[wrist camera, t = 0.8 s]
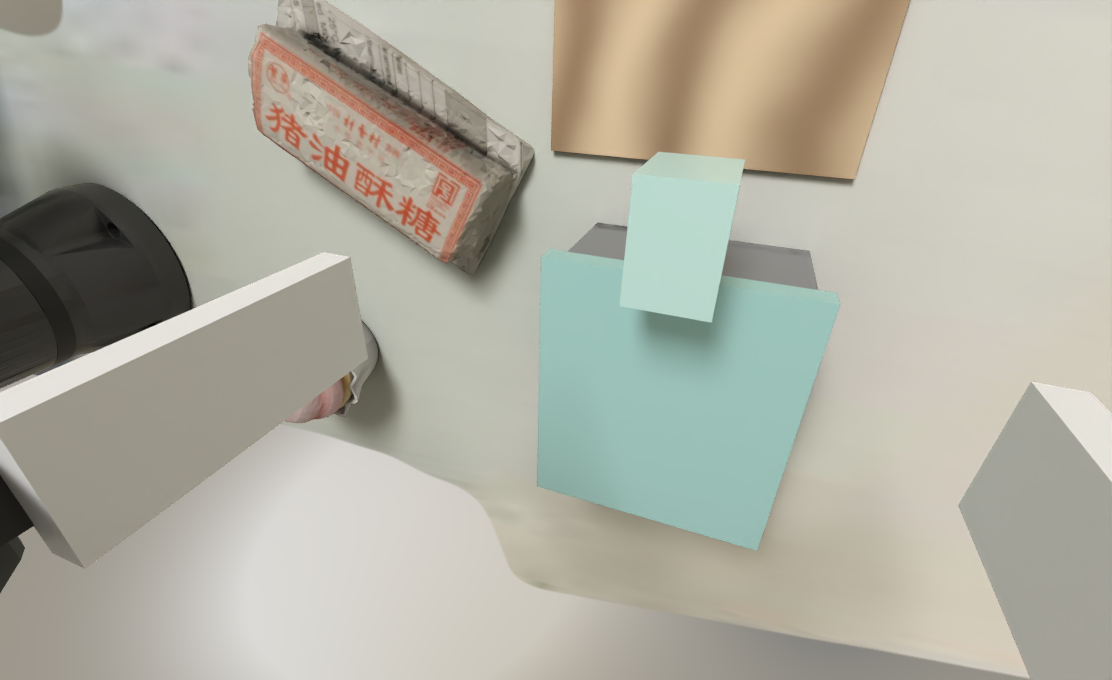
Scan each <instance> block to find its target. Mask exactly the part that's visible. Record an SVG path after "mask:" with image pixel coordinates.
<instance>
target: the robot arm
mask: <svg viewBox="0 0 1112 680" xmlns="http://www.w3.org/2000/svg"><path fill="white" fill-rule="evenodd" d="M91 352H92V353H91ZM85 353H90V354H88V355H86V356H83V357H81V358H79V359H76V360H74V361H72V362H69V363H67V364H65V365H62V366H60V367H58V368H56V369H53V370H51V371H49V372H46V373H44V374H42V375H39V376H37V377H35V378H32V379H30V380H28V381H26V382H23V383H21V384H19V385H17V386H14V387H12V388H10V389H7V390H5V391H3V392H0V593H1V591H2V589H3V588H4V586H5V584H6V583H7V581H8V580H9V578H10V576H11V575H12V573H13V571H14V570H15V568H16V567H17V565H18V563H19V562H20V560H21V558H22V555H23V552H24V549H25V547H24V546H23V544H22V542H21V540H20V539H19V537H18V535H20V534H21V533H23V532H25V531H26V530H28V529H29V528H31V527H33V526H34V527H35V528H36V530H37V531H38V533H39V534H40V536H41V537H42V538H43V540H44V542H45V543H46V545H47V546H48V547H49V549H50V550H51V552H52V553H54V554H56V555H58V556H60V557H62V558H64V559H66V560H68V561H70V562H72V563H74V564H76V565H78V566H80V567H83V568H87V567H88V566H89V565H91V564H92V563H93V562H95V561H96V560H98V559H99V558H100V557H102V556H103V555H104V554H106V553H107V552H108V551H110V550H111V549H112V548H114V547H115V546H116V545H118V544H119V543H120V542H122V541H123V540H124V539H126V538H127V537H128V536H130V535H131V534H132V533H134V532H135V531H137V530H138V529H139V528H141V527H142V526H143V525H145V524H146V523H147V522H149V521H150V520H151V519H153V518H154V517H155V516H157V515H158V514H159V513H161V512H162V511H163V510H165V509H166V508H167V507H169V506H170V505H171V504H173V503H174V502H175V501H177V500H178V499H180V498H181V497H182V496H184V495H185V494H186V493H188V492H189V491H190V490H192V489H193V488H194V487H196V486H197V485H198V484H200V483H201V482H202V481H204V480H205V479H206V478H208V477H209V476H210V475H212V474H213V473H215V472H216V471H217V470H219V469H220V468H221V467H223V466H224V465H225V464H227V463H228V462H229V461H231V460H232V459H233V458H235V457H236V456H237V455H239V454H240V453H241V452H242V451H244V450H245V449H247V448H248V447H249V446H251V445H252V444H254V443H255V442H256V441H258V440H259V439H260V438H262V437H263V436H264V435H266V434H267V433H268V432H269V431H271V430H272V429H274V428H275V427H276V426H278V425H279V424H280V423H282V422H283V421H284V420H286V419H287V418H288V417H290V416H291V415H293V414H294V413H295V412H297V411H298V410H299V409H301V408H302V407H303V406H305V405H306V404H307V403H309V402H310V401H311V400H313V399H314V398H315V397H317V396H318V395H319V394H321V393H322V392H323V391H325V390H326V389H327V388H329V387H330V386H332V385H333V384H334V383H336V382H337V381H338V380H340V379H341V378H342V377H344V376H345V375H346V374H348V373H349V372H350V371H352V370H353V369H354V368H356V367H357V366H358V365H360V364H361V363H362V362H364V361H365V360H366V359H368V355H367V350H366V344H365V338H364V333H363V327H362V321H361V315H360V310H359V304H358V298H357V293H356V287H355V281H354V276H353V270H352V264H351V258H350V257H347V256H341V255H336V254H330V253H325V252H323V253H321V254H319V255H316V256H314V257H312V258H309V259H307V260H305V261H302V262H300V263H298V264H295V265H293V266H291V267H289V268H286V269H284V270H282V271H279V272H277V273H275V274H272V275H270V276H268V277H265V278H263V279H261V280H259V281H256V282H254V283H252V284H249V285H247V286H245V287H242V288H240V289H238V290H235V291H233V292H231V293H229V294H226V295H224V296H222V297H219V298H217V299H215V300H212V301H210V302H208V303H205V304H203V305H201V306H199V307H196V308H194V309H192V310H190V297H189V291H188V286H187V283H186V279H185V276H184V274H183V271H182V269H181V266H180V264H179V262H178V260H177V258H176V256H175V254H174V252H173V251H172V249H171V247H170V246H169V244H168V243H167V241H166V240H165V238H164V237H163V235H162V234H161V233H160V231H159V230H158V229H157V228H156V226H155V225H154V224H153V223H152V222H151V221H150V219H149V218H148V217H147V216H146V215H145V214H144V213H143V212H142V211H141V210H140V209H139V208H137V207H136V206H135V205H134V204H133V203H131V202H130V201H129V200H128V199H126V198H125V197H123V196H122V195H120V194H119V193H117V192H115V191H113V190H111V189H109V188H107V187H105V186H102V185H98V184H93V183H83V184H78V185H72V186H67V187H61V188H57V189H54V190H51V191H49V192H47V193H45V194H43V195H42V196H40V197H38V198H36V199H34V200H33V201H31V202H29V203H27V204H25V205H24V206H22V207H20V208H18V209H17V210H15V211H13V212H11V213H9V214H8V215H6V216H4V217H2V218H0V388H3V387H5V386H7V385H10V384H12V383H14V382H16V381H19V380H21V379H23V378H26V377H28V376H30V375H32V374H35V373H37V372H39V371H42V370H44V369H46V368H48V367H51V366H53V365H55V364H57V363H60V362H62V361H64V360H67V359H69V358H72V357H74V356H77V355H80V354H85ZM958 506H959V508H960V510H961V513H962V515H963V518H964V520H965V522H966V525H967V527H968V530H969V532H970V534H971V537H972V539H973V542H974V544H975V546H976V549H977V551H978V554H979V556H980V558H981V561H982V563H983V566H984V568H985V570H986V573H987V575H988V578H989V580H990V582H991V585H992V587H993V590H994V592H995V594H996V597H997V599H998V602H999V604H1000V606H1001V609H1002V611H1003V614H1004V616H1005V618H1006V621H1007V623H1008V626H1009V628H1010V630H1011V633H1012V635H1013V638H1014V640H1015V642H1016V645H1017V647H1018V650H1019V652H1020V655H1021V657H1022V659H1023V662H1024V664H1025V667H1026V669H1027V671H1028V674H1029V676H1030V679H1031V680H1112V414H1111V413H1110V412H1109V411H1108V410H1107V409H1106V408H1105V407H1104V406H1103V404H1102V403H1101V402H1100V401H1099V400H1098V399H1097V398H1096V397H1095V396H1094V395H1093V394H1092V393H1091V392H1086V391H1080V390H1075V389H1069V388H1064V387H1058V386H1053V385H1047V384H1042V383H1037V382H1031V383H1030V384H1029V386H1028V388H1027V389H1026V391H1025V393H1024V395H1023V396H1022V398H1021V400H1020V401H1019V403H1018V405H1017V406H1016V408H1015V410H1014V412H1013V413H1012V415H1011V417H1010V418H1009V420H1008V422H1007V423H1006V425H1005V427H1004V429H1003V430H1002V432H1001V434H1000V435H999V437H998V439H997V440H996V442H995V444H994V445H993V447H992V449H991V451H990V452H989V454H988V456H987V457H986V459H985V461H984V462H983V464H982V466H981V468H980V469H979V471H978V473H977V474H976V476H975V478H974V479H973V481H972V483H971V484H970V486H969V488H968V490H967V491H966V493H965V495H964V496H963V498H962V500H961V501H960V503H959V505H958Z"/></svg>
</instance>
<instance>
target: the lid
mask: <svg viewBox="0 0 1112 680" xmlns="http://www.w3.org/2000/svg"><path fill="white" fill-rule="evenodd" d="M744 163H745V159H734V158H723V157H712V156H701V155H690V154H679V153H667V152H658V153H657V154H655V155H654V156H653V157H652V158H651V159H650V160H648V161H647V162H646V163H645V164H644V165H643V166H641V167H640V168H639V169H638V170H637V171H636V172H635V173H633V179H632V188H631V198H630V208H629V218H628V227H627V237H626V247H625V257H624V260H618V259H612V258H605V257H599V256H592V255H586V254H579V253H573V252H566V251H559V250H553V249H550V250H548V251H547V252H546V253H545V254H544V255H543V256H542V257H541V298H540V353H539V408H538V463H537V486H538V487H541V488H545V489H548V490H552V491H555V492H558V493H562V494H565V495H569V496H572V497H575V498H579V499H582V500H586V501H589V502H592V503H596V504H599V505H603V506H606V507H609V508H613V509H616V510H620V511H623V512H626V513H630V514H633V515H637V516H640V517H643V518H647V519H650V520H654V521H657V522H660V523H664V524H667V525H671V526H674V527H677V528H681V529H684V530H688V531H691V532H694V533H698V534H701V535H705V536H708V537H711V538H715V539H718V540H722V541H725V542H728V543H732V544H735V545H739V546H742V547H745V548H749V549H752V550H755V551H757V549H758V546H759V543H760V540H761V538H762V535H763V532H764V529H765V526H766V523H767V520H768V517H769V514H770V511H771V508H772V505H773V502H774V499H775V496H776V493H777V490H778V487H779V484H780V481H781V478H782V475H783V472H784V469H785V466H786V463H787V460H788V457H789V455H790V452H791V449H792V446H793V443H794V440H795V437H796V434H797V431H798V428H799V425H800V422H801V419H802V416H803V413H804V410H805V407H806V404H807V401H808V398H809V395H810V392H811V389H812V386H813V383H814V380H815V377H816V374H817V372H818V369H819V366H820V363H821V360H822V357H823V354H824V351H825V348H826V345H827V342H828V339H829V336H830V333H831V330H832V327H833V324H834V321H835V318H836V315H837V312H838V309H839V306H840V302H839V298H838V295H837V293H834V292H827V291H821V290H814V289H808V288H801V287H795V286H788V285H782V284H775V283H769V282H762V281H756V280H749V279H742V278H736V277H729V276H723V275H722V271H723V266H724V261H725V256H726V251H727V246H728V241H729V236H730V232H731V227H732V222H733V217H734V212H735V207H736V202H737V197H738V192H739V188H740V183H741V178H742V173H743V168H744Z"/></svg>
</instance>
